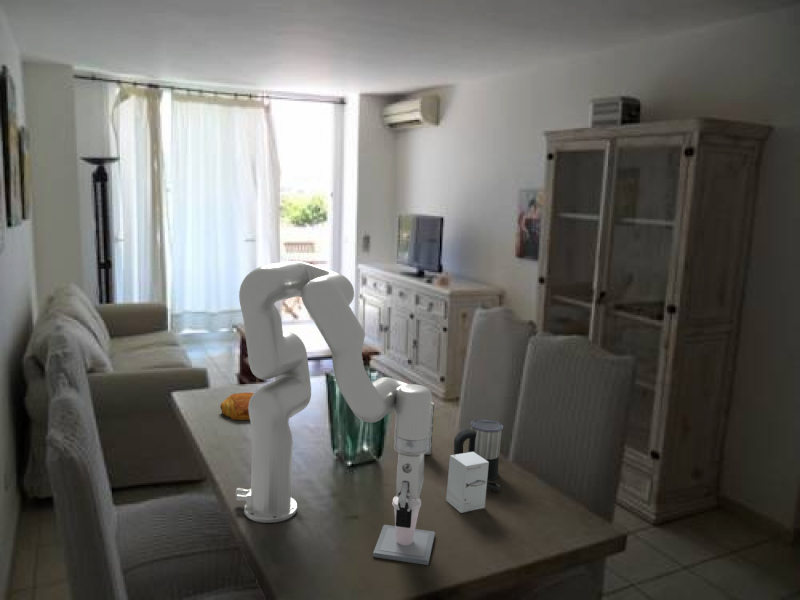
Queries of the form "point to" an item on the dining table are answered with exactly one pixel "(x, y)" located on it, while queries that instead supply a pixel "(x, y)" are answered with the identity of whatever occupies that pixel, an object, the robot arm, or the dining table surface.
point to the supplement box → (467, 481)
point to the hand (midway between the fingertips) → (406, 515)
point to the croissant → (237, 406)
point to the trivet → (404, 546)
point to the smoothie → (407, 534)
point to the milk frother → (483, 445)
